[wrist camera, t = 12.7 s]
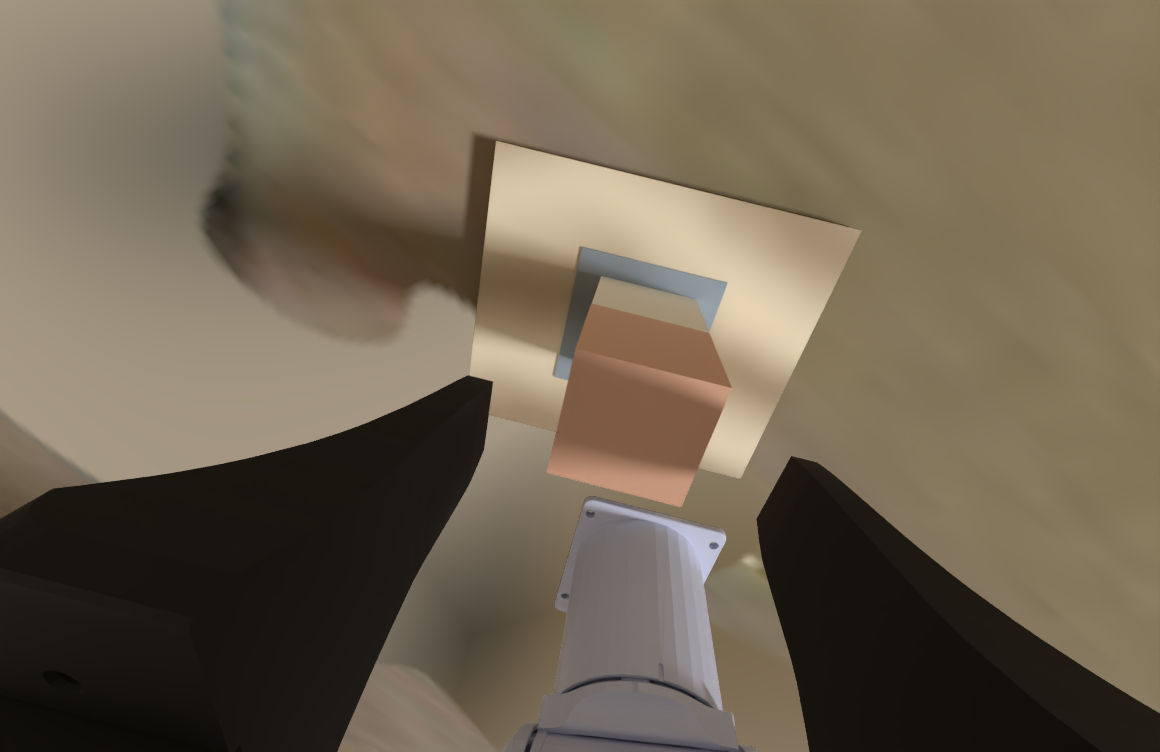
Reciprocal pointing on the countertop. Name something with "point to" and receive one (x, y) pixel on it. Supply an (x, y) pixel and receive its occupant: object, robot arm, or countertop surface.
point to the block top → (639, 405)
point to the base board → (644, 283)
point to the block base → (650, 303)
